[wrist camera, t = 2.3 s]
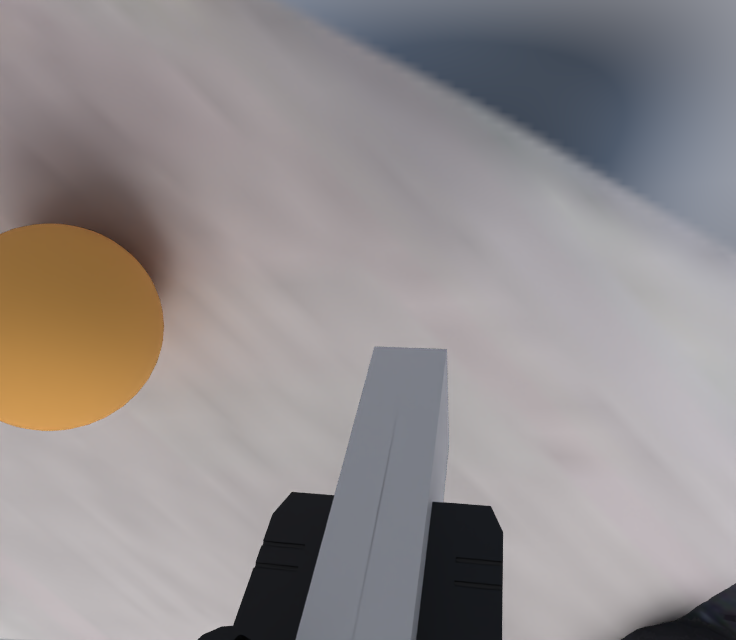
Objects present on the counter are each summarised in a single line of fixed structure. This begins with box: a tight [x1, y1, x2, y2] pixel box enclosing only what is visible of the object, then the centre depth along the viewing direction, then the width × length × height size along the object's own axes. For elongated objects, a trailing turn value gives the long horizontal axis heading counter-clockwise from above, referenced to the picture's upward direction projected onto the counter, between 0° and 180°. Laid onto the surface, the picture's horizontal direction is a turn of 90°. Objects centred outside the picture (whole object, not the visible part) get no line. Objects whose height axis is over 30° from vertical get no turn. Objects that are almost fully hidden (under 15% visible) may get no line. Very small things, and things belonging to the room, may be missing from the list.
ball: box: [0, 224, 164, 431], centre depth 18 cm, size 6×6×6 cm
